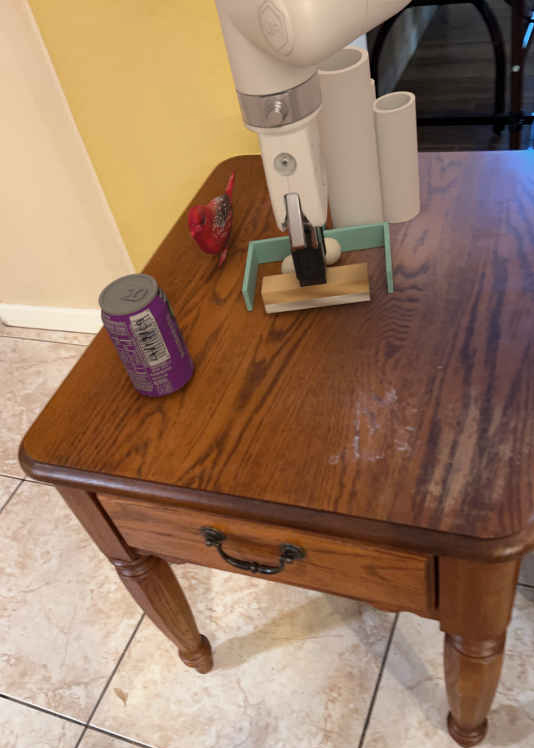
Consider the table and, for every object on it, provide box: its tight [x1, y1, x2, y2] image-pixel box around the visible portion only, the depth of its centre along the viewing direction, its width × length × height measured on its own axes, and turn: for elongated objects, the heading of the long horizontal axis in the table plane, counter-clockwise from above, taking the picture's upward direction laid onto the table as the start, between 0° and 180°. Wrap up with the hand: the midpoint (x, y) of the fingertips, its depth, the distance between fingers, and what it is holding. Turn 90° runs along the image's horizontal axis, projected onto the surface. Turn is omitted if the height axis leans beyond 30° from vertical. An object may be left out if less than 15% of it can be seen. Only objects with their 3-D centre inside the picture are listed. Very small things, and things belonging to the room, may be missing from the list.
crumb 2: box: [324, 237, 342, 266], centre depth 85 cm, size 3×3×3 cm
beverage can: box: [97, 273, 195, 398], centre depth 75 cm, size 7×7×12 cm
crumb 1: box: [280, 255, 295, 274], centre depth 84 cm, size 3×3×3 cm
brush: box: [260, 217, 371, 314], centre depth 77 cm, size 12×3×10 cm, turn 86°
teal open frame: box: [241, 219, 395, 312], centre depth 85 cm, size 17×16×3 cm
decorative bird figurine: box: [187, 169, 236, 270], centre depth 89 cm, size 3×18×10 cm, turn 166°
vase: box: [316, 45, 421, 229], centre depth 83 cm, size 11×7×20 cm, turn 115°
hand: (311, 265), depth 78 cm, fingers closed on brush, 3 cm apart
